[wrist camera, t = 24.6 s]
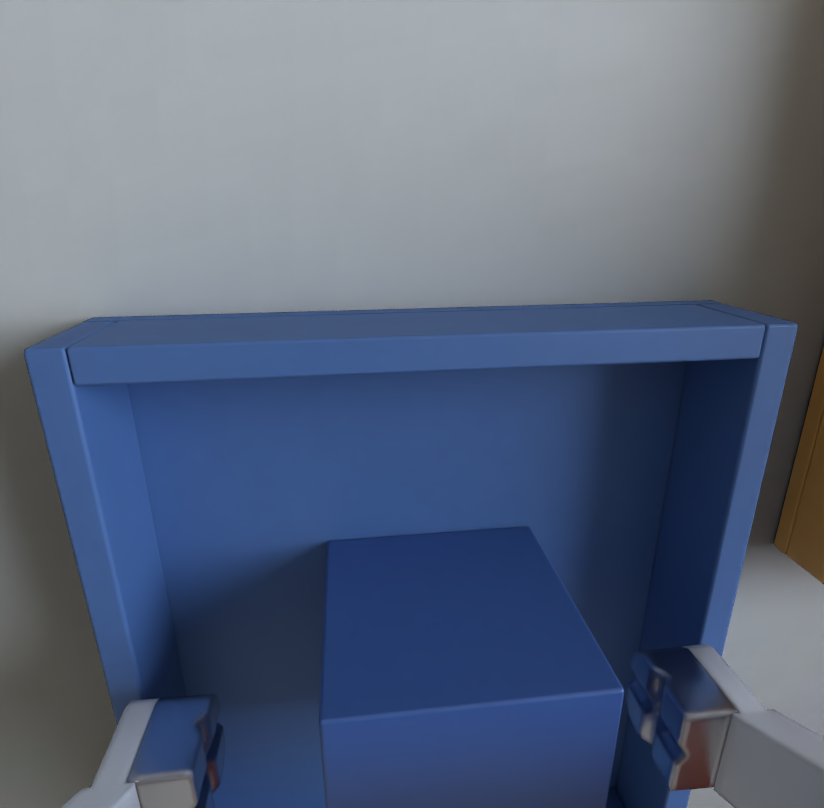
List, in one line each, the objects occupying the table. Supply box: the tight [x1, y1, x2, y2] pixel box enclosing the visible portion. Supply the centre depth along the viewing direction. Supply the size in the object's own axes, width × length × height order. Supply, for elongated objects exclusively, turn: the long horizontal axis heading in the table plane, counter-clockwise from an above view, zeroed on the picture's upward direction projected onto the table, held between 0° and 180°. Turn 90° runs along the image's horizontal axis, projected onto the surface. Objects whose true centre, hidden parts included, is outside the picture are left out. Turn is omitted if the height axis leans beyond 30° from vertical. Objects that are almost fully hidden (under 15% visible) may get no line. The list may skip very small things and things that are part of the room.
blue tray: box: [24, 300, 798, 808], centre depth 12 cm, size 12×14×2 cm
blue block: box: [319, 527, 624, 808], centre depth 11 cm, size 4×4×4 cm
